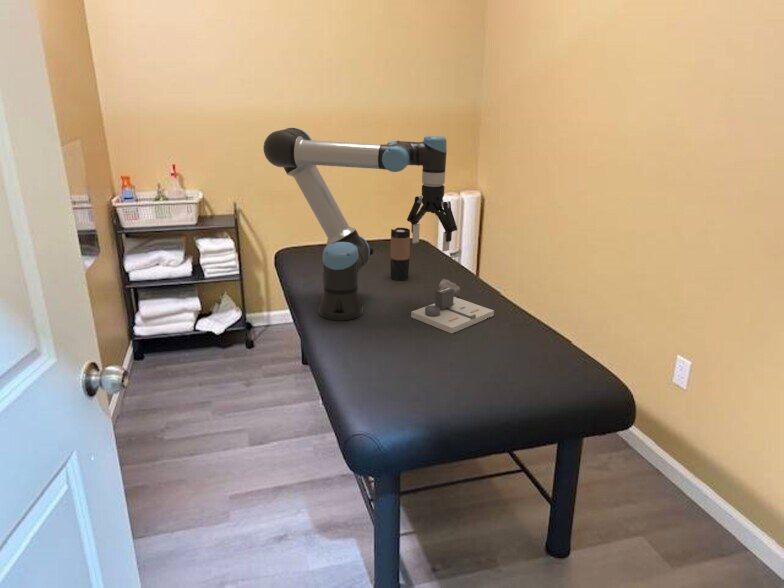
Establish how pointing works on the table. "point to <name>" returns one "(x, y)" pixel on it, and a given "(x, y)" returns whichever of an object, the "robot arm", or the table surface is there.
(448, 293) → the fader
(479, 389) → the table surface
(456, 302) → the console
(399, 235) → the travel mug
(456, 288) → the stone
